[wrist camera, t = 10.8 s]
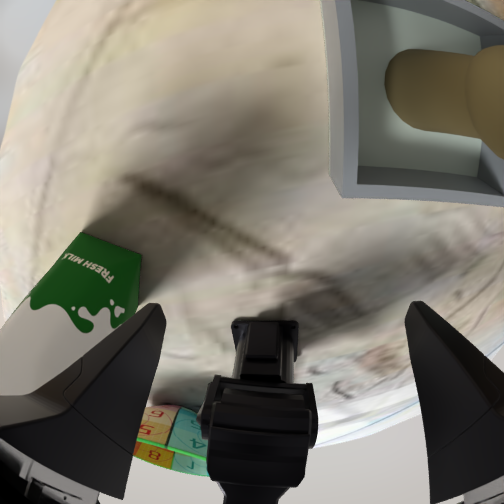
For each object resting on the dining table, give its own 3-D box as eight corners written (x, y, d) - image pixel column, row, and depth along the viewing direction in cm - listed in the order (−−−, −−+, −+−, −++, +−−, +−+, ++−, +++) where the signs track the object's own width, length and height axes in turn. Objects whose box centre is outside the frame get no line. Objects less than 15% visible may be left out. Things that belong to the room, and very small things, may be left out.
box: (478, 185, 17) (509, 208, 13) (328, 174, 18) (341, 198, 14) (481, 31, 9) (516, 29, 6) (318, -11, 11) (328, -37, 7)
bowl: (222, 442, 50) (215, 481, 41) (123, 409, 47) (109, 448, 38) (263, 410, 38) (258, 468, 29) (122, 363, 35) (98, 420, 26)
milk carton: (79, 287, 27) (-9, 430, 10) (73, 219, 22) (-64, 381, 5) (145, 314, 28) (74, 485, 11) (152, 248, 23) (33, 471, 6)
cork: (462, 73, 12) (578, 93, 3) (444, 143, 15) (552, 209, 6) (392, 34, 12) (501, 2, 2) (375, 111, 15) (479, 149, 6)
